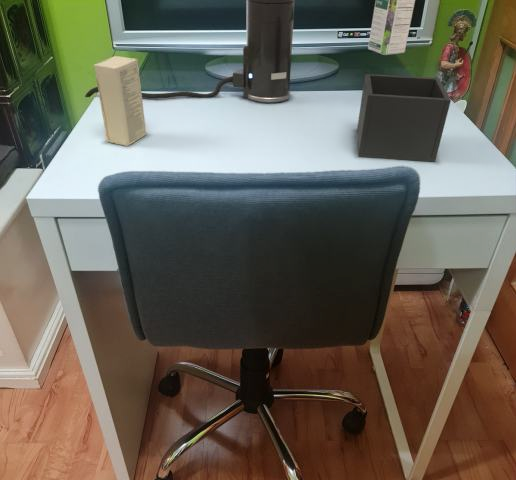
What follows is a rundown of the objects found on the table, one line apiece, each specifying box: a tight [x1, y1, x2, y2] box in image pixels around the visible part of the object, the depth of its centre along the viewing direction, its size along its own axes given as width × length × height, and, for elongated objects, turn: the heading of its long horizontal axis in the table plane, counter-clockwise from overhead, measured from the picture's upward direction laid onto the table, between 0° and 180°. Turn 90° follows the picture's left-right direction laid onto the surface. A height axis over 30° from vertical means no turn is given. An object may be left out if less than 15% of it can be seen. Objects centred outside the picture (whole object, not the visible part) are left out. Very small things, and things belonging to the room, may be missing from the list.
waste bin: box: [356, 73, 452, 163], centre depth 86 cm, size 13×13×10 cm
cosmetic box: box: [93, 55, 147, 147], centre depth 84 cm, size 6×4×12 cm
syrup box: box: [367, 0, 416, 56], centre depth 101 cm, size 6×6×14 cm
